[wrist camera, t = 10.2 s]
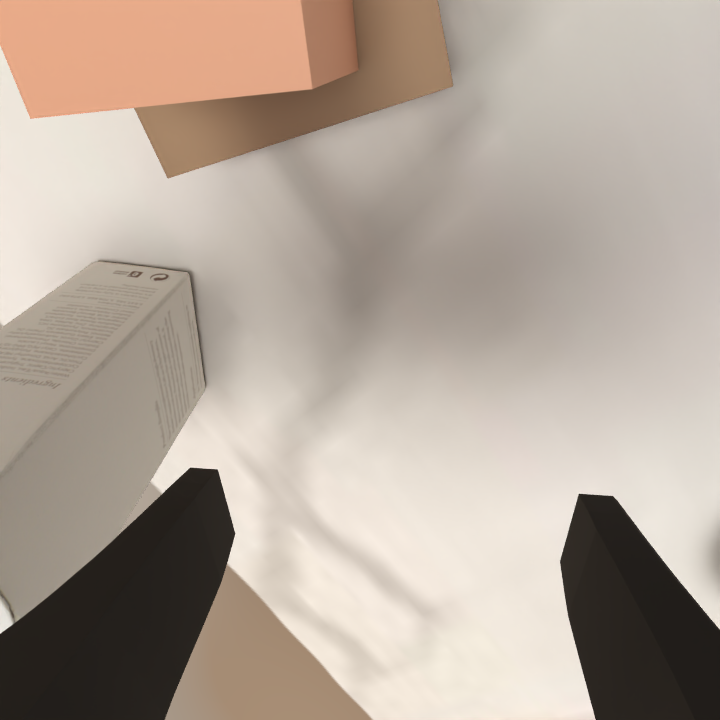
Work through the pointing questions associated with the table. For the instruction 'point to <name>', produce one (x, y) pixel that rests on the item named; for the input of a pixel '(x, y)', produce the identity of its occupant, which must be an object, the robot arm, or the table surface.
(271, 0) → the terracotta cube
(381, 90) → the walnut block
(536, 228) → the table surface
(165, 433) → the skincare box
